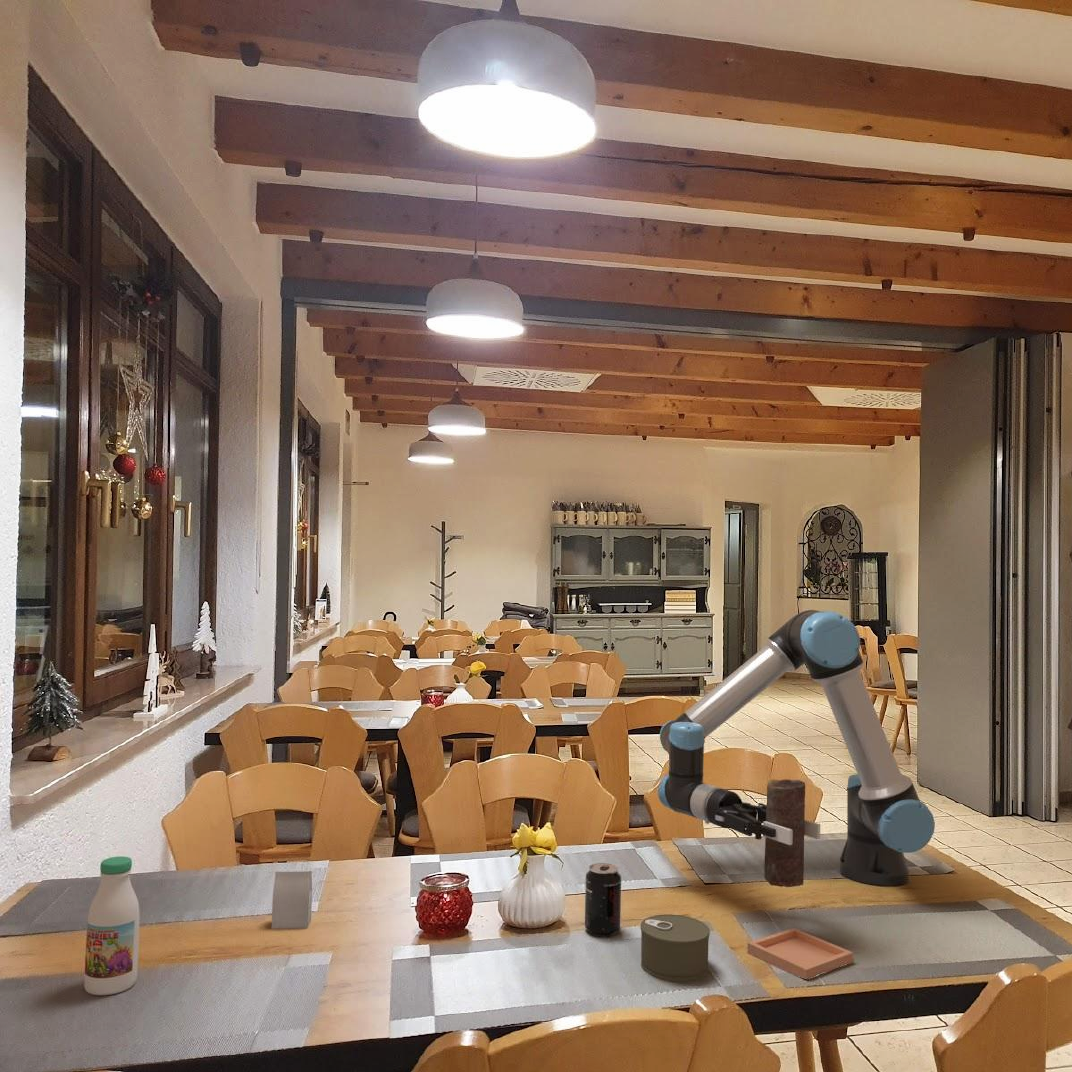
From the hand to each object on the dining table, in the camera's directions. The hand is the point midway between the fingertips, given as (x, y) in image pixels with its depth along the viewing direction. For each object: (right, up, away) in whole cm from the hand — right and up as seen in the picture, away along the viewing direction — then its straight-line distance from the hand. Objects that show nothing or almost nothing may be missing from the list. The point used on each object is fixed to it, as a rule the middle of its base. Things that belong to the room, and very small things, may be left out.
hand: (805, 834), depth 164 cm
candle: (-3, -11, +4) cm, 12 cm away
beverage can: (-38, -20, +3) cm, 43 cm away
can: (-26, -19, -12) cm, 35 cm away
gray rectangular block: (-98, -18, +3) cm, 99 cm away
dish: (-3, -20, -7) cm, 21 cm away
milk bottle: (-119, -17, -23) cm, 123 cm away
